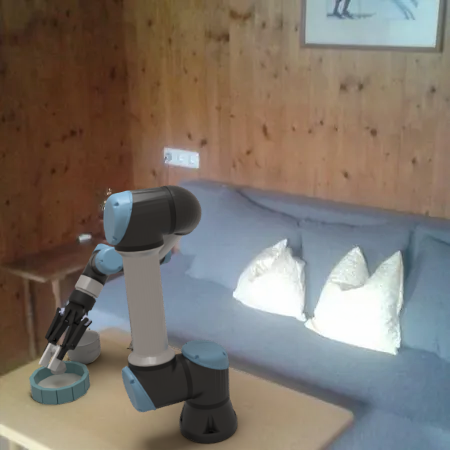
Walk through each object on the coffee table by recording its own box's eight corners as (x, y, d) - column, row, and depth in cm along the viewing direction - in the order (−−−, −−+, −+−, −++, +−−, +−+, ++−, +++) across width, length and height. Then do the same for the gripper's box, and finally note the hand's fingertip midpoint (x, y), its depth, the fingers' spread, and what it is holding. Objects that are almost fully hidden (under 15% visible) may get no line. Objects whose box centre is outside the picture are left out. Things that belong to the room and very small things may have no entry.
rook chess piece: (47, 374, 191) (44, 349, 188) (56, 366, 195) (53, 342, 192) (61, 376, 189) (58, 351, 187) (69, 368, 193) (66, 344, 191)
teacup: (94, 369, 203) (91, 346, 201) (61, 366, 206) (58, 343, 203) (110, 347, 216) (108, 325, 214) (79, 345, 218) (76, 323, 216)
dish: (101, 384, 195) (99, 371, 194) (56, 411, 182) (55, 396, 181) (64, 368, 204) (62, 355, 203) (19, 392, 192) (18, 379, 191)
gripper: (112, 305, 194) (74, 380, 186) (74, 292, 203) (37, 363, 196) (97, 295, 188) (57, 371, 181) (59, 282, 197) (19, 355, 190)
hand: (46, 367), depth 188 cm, fingers closed on rook chess piece, 3 cm apart
